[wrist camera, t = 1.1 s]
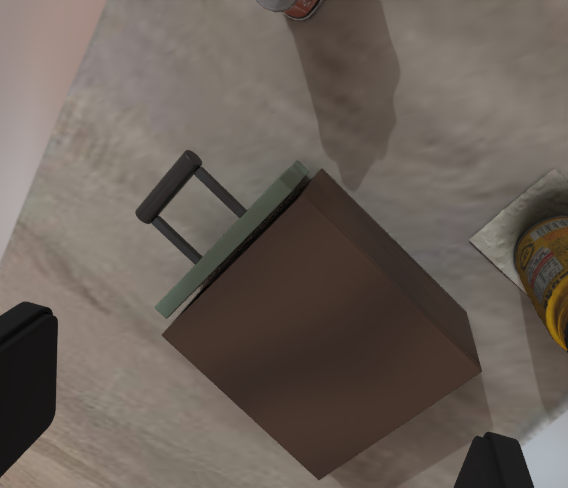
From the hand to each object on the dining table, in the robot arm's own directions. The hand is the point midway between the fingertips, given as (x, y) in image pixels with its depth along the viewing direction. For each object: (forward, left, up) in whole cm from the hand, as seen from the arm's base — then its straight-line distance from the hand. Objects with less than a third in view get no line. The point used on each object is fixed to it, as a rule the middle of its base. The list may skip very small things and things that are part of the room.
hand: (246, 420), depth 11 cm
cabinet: (+9, +6, -28) cm, 30 cm away
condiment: (-6, +14, -29) cm, 32 cm away
